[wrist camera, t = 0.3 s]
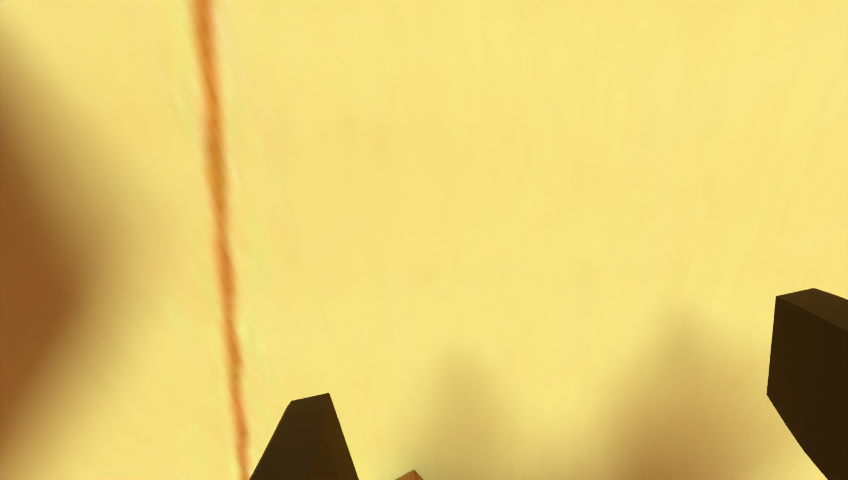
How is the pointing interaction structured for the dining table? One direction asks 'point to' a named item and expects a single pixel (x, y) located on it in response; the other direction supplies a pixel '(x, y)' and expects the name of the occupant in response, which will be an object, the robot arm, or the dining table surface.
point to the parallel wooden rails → (410, 476)
